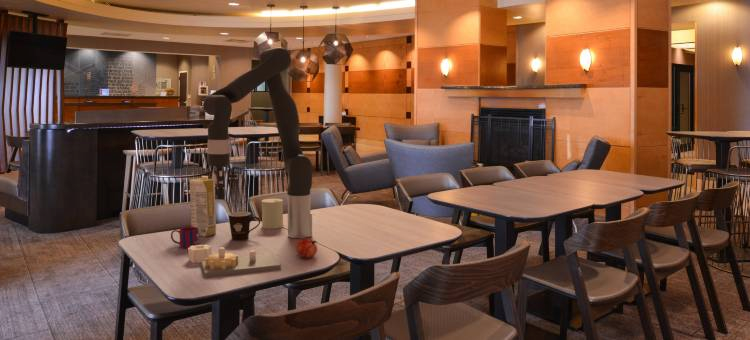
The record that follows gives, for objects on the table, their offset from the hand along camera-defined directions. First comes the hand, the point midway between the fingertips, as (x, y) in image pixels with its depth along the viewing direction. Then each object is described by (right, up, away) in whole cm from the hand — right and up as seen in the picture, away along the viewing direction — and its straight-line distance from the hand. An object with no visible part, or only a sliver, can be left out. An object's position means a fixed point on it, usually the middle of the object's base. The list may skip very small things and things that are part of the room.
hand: (219, 197), depth 198 cm
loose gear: (-5, -21, -6) cm, 23 cm away
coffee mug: (+3, -18, +22) cm, 28 cm away
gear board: (+11, -23, -14) cm, 29 cm away
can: (+11, -15, +43) cm, 47 cm away
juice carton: (-14, -17, +28) cm, 36 cm away
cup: (-16, -19, +11) cm, 27 cm away
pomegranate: (+31, -21, -3) cm, 38 cm away
